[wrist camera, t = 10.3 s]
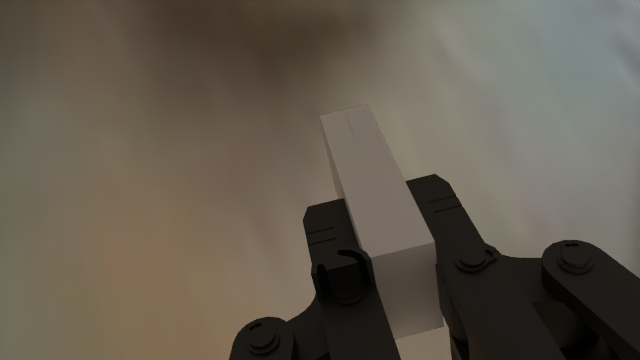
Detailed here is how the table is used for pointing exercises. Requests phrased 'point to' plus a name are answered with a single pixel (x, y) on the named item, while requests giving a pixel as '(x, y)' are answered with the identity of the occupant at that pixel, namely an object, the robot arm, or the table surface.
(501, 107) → the table surface
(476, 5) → the table surface
